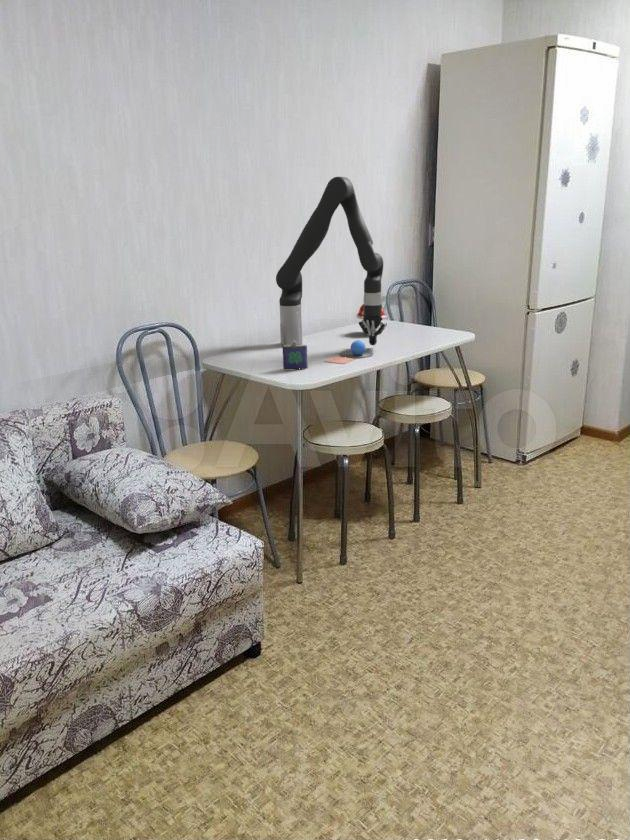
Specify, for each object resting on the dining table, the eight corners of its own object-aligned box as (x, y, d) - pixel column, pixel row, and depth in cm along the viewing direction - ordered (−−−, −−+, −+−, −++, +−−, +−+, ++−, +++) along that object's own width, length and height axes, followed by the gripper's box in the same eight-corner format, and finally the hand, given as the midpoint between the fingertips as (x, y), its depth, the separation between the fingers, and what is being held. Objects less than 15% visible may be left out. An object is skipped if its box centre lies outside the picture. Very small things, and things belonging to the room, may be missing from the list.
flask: (307, 367, 269) (306, 339, 266) (308, 369, 267) (307, 341, 263) (283, 368, 269) (281, 340, 265) (283, 370, 266) (282, 342, 263)
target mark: (339, 358, 281) (339, 358, 281) (338, 351, 294) (338, 350, 294) (374, 357, 281) (374, 357, 281) (372, 350, 294) (372, 349, 294)
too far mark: (336, 356, 284) (336, 356, 284) (355, 359, 279) (355, 358, 279) (324, 361, 277) (324, 361, 277) (343, 364, 272) (343, 363, 272)
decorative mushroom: (387, 331, 332) (387, 298, 327) (385, 337, 319) (385, 303, 314) (357, 331, 334) (357, 299, 329) (354, 337, 321) (354, 303, 316)
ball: (349, 345, 281) (355, 335, 285) (346, 354, 286) (352, 344, 290) (363, 351, 281) (369, 341, 284) (360, 360, 286) (366, 350, 289)
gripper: (391, 303, 291) (391, 344, 296) (363, 300, 298) (363, 341, 304) (382, 305, 285) (382, 348, 291) (354, 303, 292) (354, 344, 298)
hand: (372, 344), depth 297 cm, fingers closed
